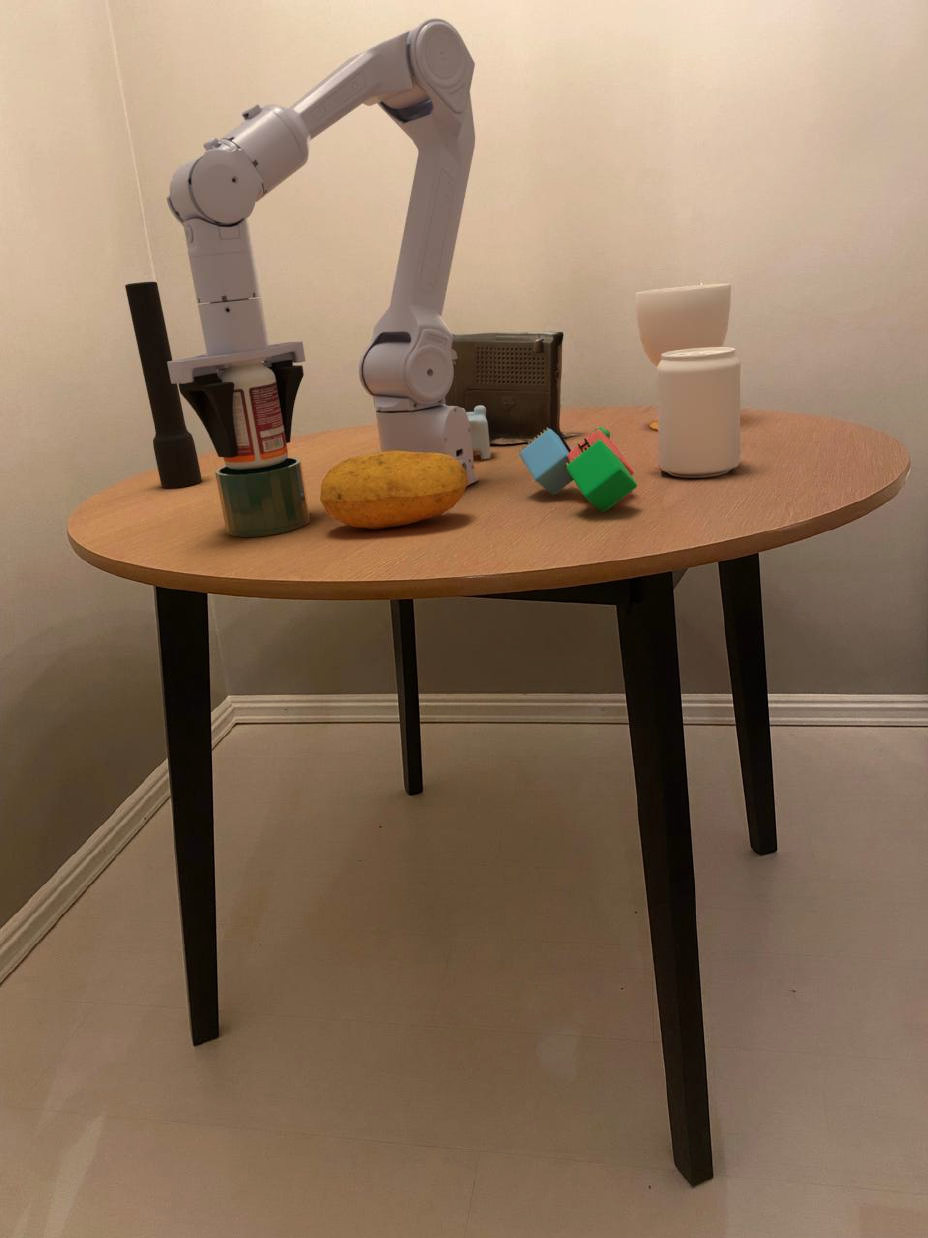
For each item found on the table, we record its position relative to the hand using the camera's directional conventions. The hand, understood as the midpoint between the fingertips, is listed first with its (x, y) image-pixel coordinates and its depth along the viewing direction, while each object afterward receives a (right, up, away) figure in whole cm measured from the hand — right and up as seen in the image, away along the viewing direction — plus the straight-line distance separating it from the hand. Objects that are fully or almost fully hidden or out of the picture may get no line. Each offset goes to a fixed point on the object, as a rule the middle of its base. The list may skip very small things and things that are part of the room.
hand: (255, 449), depth 90 cm
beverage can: (+45, -1, +7) cm, 45 cm away
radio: (+23, +8, +37) cm, 45 cm away
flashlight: (-16, +1, +28) cm, 32 cm away
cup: (+49, +9, +33) cm, 60 cm away
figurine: (+21, +4, +27) cm, 34 cm away
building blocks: (+31, -5, -1) cm, 31 cm away
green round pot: (+1, -7, +3) cm, 8 cm away
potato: (+14, -8, -2) cm, 16 cm away
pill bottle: (0, -2, +1) cm, 2 cm away
